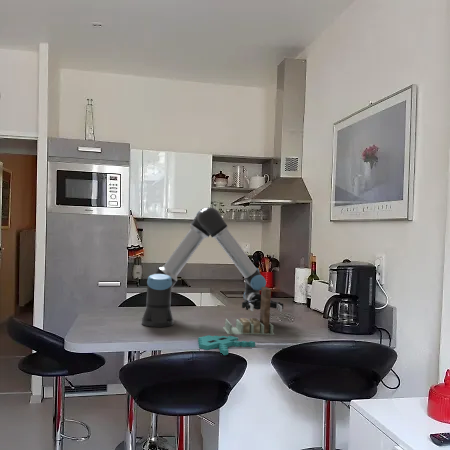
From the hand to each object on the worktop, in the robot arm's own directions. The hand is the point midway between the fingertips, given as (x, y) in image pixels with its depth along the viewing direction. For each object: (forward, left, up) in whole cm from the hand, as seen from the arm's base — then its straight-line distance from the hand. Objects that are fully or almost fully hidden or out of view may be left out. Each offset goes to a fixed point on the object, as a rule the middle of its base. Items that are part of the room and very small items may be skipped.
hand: (267, 308), depth 213 cm
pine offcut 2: (-4, +4, -11) cm, 12 cm away
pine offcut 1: (-9, +4, -11) cm, 15 cm away
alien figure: (-25, -17, -13) cm, 33 cm away
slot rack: (-7, +4, -12) cm, 15 cm away
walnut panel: (0, +3, -11) cm, 11 cm away
